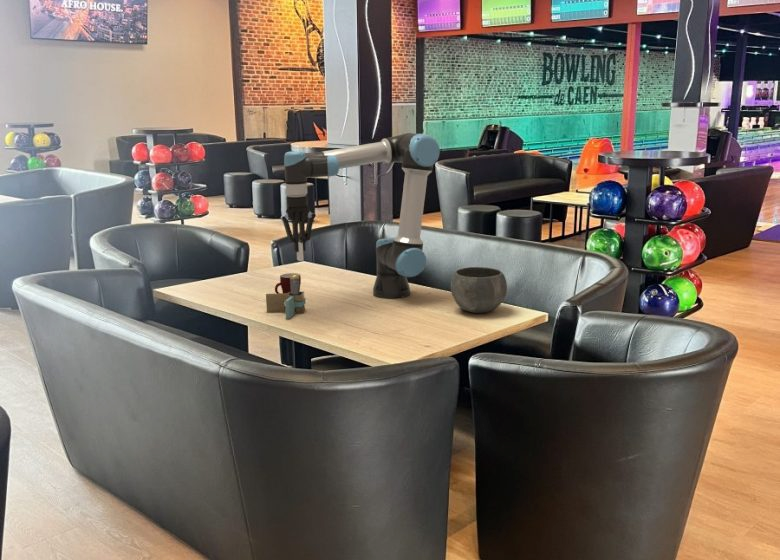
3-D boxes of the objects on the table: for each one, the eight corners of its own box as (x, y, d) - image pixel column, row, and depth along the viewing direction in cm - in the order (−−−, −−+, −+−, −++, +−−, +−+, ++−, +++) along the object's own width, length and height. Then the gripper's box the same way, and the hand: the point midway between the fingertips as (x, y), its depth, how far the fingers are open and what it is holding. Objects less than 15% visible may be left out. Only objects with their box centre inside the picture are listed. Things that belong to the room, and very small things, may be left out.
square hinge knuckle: (304, 309, 294) (304, 291, 292) (303, 313, 288) (302, 295, 287) (268, 310, 294) (267, 292, 292) (266, 314, 288) (264, 296, 287)
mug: (281, 304, 302) (279, 279, 299) (272, 300, 308) (270, 275, 306) (305, 300, 307) (304, 275, 305) (296, 296, 314) (294, 272, 312)
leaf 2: (291, 308, 294) (290, 291, 293) (305, 308, 293) (305, 291, 292) (279, 318, 281) (278, 300, 280) (295, 319, 280) (294, 301, 279)
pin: (301, 310, 293) (299, 274, 290) (299, 312, 290) (298, 276, 287) (292, 310, 293) (290, 274, 290) (291, 312, 290) (289, 276, 287)
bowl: (441, 307, 293) (441, 268, 290) (489, 301, 300) (490, 263, 297) (465, 321, 274) (465, 280, 271) (516, 314, 282) (517, 274, 278)
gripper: (310, 193, 281) (313, 256, 287) (275, 195, 276) (279, 260, 281) (317, 195, 275) (320, 260, 280) (283, 198, 269) (286, 264, 274)
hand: (300, 260), depth 281 cm, fingers closed
